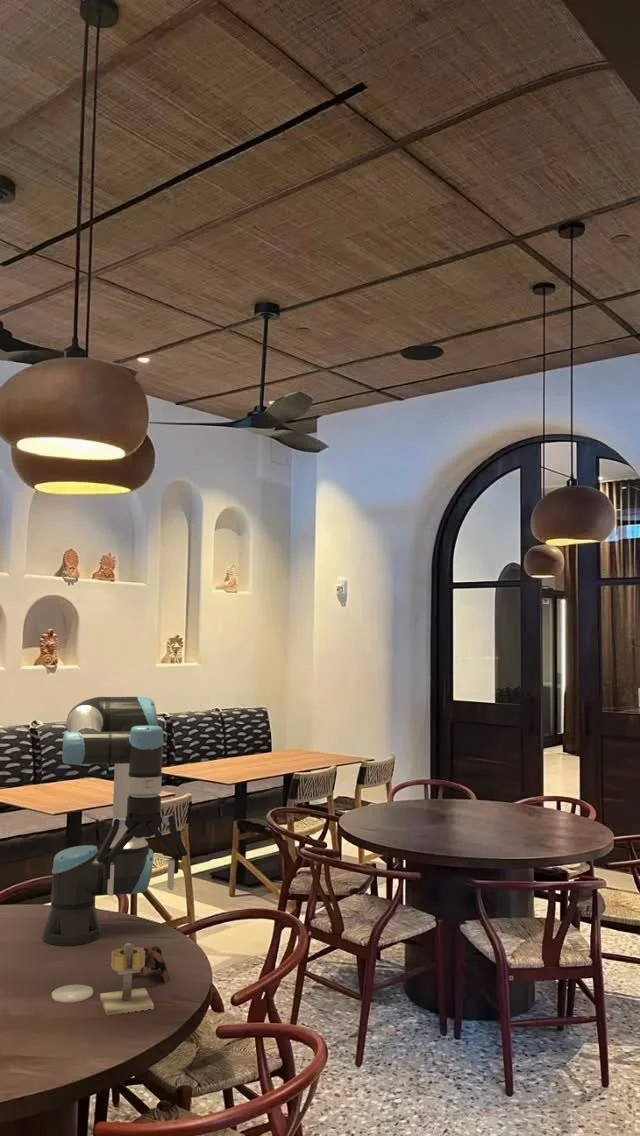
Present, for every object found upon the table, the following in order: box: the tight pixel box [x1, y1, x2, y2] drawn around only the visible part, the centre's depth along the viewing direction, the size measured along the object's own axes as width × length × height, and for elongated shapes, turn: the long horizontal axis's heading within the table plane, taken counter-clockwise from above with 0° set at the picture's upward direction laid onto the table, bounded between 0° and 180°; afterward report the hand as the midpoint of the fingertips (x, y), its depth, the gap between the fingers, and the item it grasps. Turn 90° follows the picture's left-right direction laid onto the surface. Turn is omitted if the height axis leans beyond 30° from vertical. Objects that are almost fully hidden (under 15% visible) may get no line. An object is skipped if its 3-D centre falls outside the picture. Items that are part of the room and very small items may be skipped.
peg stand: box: [99, 942, 155, 1016], centre depth 190 cm, size 10×10×12 cm
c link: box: [110, 945, 145, 972], centre depth 190 cm, size 7×7×3 cm
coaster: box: [51, 984, 94, 1004], centre depth 193 cm, size 9×9×1 cm
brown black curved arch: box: [132, 945, 170, 984], centre depth 205 cm, size 12×10×8 cm
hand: (140, 891), depth 192 cm, fingers open, 13 cm apart
